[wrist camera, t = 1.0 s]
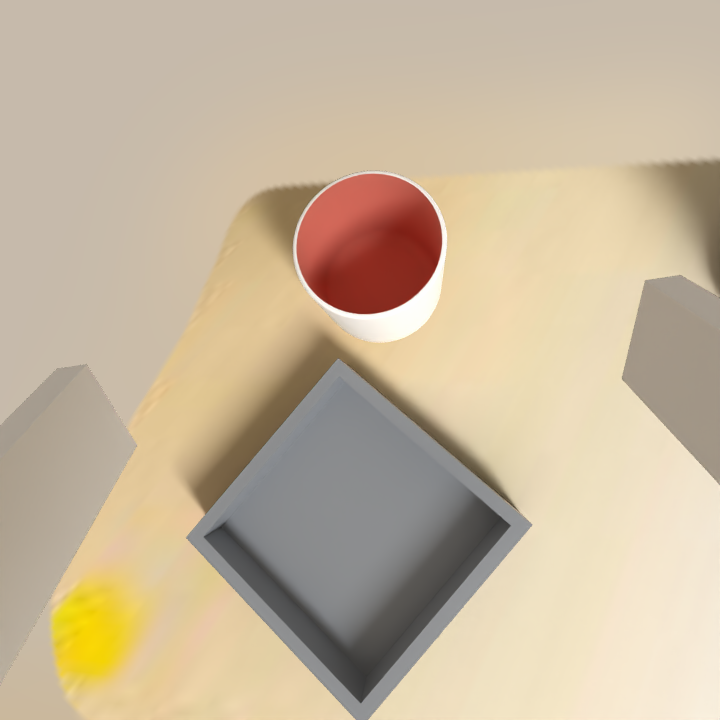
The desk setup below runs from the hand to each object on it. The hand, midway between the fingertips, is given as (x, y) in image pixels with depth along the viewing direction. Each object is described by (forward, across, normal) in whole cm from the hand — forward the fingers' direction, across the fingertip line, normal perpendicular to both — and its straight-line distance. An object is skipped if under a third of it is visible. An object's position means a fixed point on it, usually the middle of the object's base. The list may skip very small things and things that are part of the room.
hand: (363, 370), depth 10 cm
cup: (+26, +1, -10) cm, 27 cm away
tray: (+13, -4, -24) cm, 27 cm away
